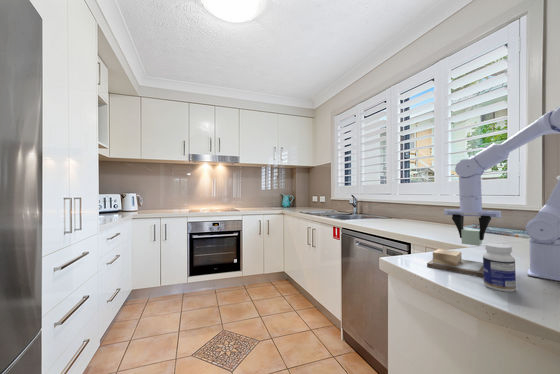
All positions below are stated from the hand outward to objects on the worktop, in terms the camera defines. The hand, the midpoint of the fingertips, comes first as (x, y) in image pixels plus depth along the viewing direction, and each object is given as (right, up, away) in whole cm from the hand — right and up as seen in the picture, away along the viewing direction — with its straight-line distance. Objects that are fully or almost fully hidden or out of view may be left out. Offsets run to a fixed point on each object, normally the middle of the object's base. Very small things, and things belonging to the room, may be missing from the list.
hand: (471, 238), depth 80 cm
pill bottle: (-11, -7, -22) cm, 26 cm away
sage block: (0, -2, 0) cm, 2 cm away
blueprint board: (-9, -7, -7) cm, 13 cm away
